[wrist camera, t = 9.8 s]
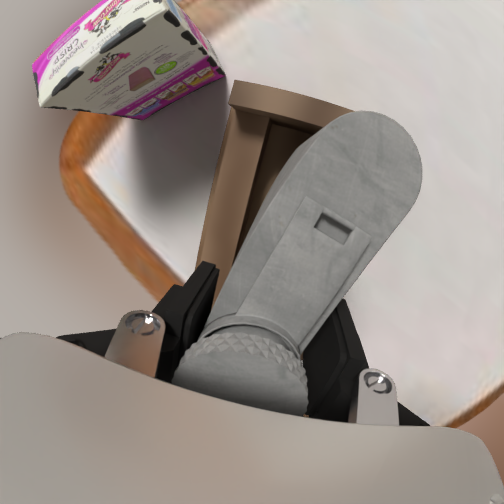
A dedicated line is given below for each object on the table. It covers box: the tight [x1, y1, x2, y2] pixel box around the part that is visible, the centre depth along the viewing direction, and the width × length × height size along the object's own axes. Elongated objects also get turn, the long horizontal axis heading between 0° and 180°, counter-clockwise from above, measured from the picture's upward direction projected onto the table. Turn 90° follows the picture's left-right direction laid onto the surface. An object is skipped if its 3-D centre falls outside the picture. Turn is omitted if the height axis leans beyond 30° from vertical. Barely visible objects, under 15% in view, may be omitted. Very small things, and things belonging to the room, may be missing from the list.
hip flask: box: [171, 111, 422, 417], centre depth 16 cm, size 16×4×20 cm, turn 157°
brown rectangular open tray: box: [195, 80, 355, 360], centre depth 26 cm, size 15×24×9 cm, turn 166°
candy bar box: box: [32, 0, 226, 120], centre depth 19 cm, size 11×5×16 cm, turn 113°
